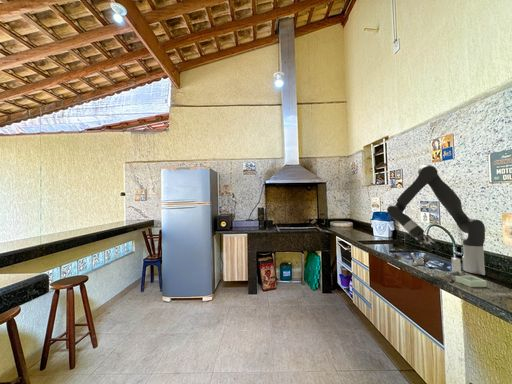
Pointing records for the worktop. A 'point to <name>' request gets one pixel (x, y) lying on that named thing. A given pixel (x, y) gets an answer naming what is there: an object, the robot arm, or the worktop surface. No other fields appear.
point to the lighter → (417, 259)
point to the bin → (471, 281)
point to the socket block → (451, 276)
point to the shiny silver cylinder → (456, 267)
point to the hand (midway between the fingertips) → (434, 250)
